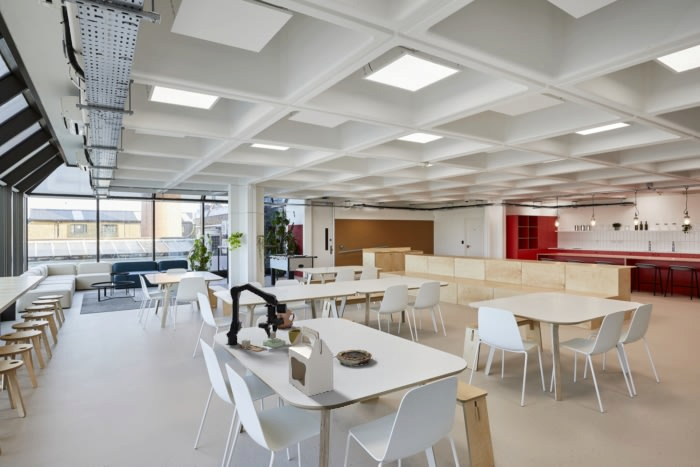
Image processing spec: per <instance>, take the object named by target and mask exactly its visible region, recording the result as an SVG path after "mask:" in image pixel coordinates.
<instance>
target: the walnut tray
mask: <svg viewBox="0 0 700 467" xmlns="http://www.w3.org/2000/svg"><path fill="white" fill-rule="evenodd" d="M237 348H240V349H243V350H244V349H245V350H249V351H252V352H256V353H260V352H262V351H266V350H268V348H266V347H262V346H258V345H254V344H251V343H250V347H246V348H245V347H242V344H241V345H238V347H237Z"/></svg>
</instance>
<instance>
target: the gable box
mask: <svg viewBox="0 0 700 467" xmlns="http://www.w3.org/2000/svg"><path fill="white" fill-rule="evenodd" d="M299 329H300V333H299V334H298V335H297V337H296V338H295V340H294V341H293V343H292V344H291V343H290V346H289V347H288V383H289V384H291V385H292V386H293V385H294V386H293V387H295V388H296V389H298V391H300V390H301V391H300V392H301V393H303V394H304V395H306V396H307V395H308V396H307V397H309V396H310V397H313V396H312V395H314V396H317V395H316V394H318V395H320V394H319V393H321V394H324V393H323V392H325V393H327V392H326V391H329V392H331V391H330V390H333V391H334V358H333V357H334V352H332V351H331V349H330V348H329V346H328V345H327V343H326V342H325V340H324V339H323V338H320V333H319V331H317V330H314V329H312V328H310V327H308V326H307V327H306V326H305V325H303V326H302V327H301V328H299ZM310 339H311V340H313V341H314V343H312V342H311V340H310Z"/></svg>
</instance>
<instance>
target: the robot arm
mask: <svg viewBox="0 0 700 467" xmlns="http://www.w3.org/2000/svg"><path fill="white" fill-rule="evenodd" d="M244 291H248V292H250V293H252V294H253V295H256V296H258V297H260V298H262V299H263V300H264V302H266V304H265V305H264V306H263V307H264V308H267V310H266V313H267V314H266V315H265V316H266V317H267V319H266V321H265V322H260V323H259V324H258V326H257V327H258V329H263V330H264V331H265V334H266V336H267V338H268V337H270V331H273V332H276V333H277V331H278V329H279V328H278V327H279V326H281V325H282V324H284V318H283V317H281V318H278V317H277V315H276V314H277V312H278V313H287V309H288V304H287V303H286V302H285V303H280V302H279V301H278V299H277V295H275V294H274V293H270V292H266V291H264V290H262V289H260V288H258V287H256V286H254V285H252V284H251V283H245V284H243V285H235V286H234V285H233V286H232V287H231V288H230V289H229V292H230V297H231V300H232V302H231V303H232V304H231V305H232V306H231V307H232V308H231V309H232V310H231V314H232V315H231V323H230V326H229V331H228V332H227V333H226V334H225V336H226V337H227V343H225V345H227V346H230V347H233V346H235V345H236V346H237V345H239V344H240V343H239V342H238V334H239V332H240V331H241V330H242V328H243V327H242V326H243V324H242V323H243V322H241V321H240V297H241V294H242V292H244ZM271 329H272V330H271Z"/></svg>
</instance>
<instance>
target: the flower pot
mask: <svg viewBox="0 0 700 467" xmlns="http://www.w3.org/2000/svg"><path fill="white" fill-rule="evenodd" d="M300 329H301V328H299V329H298V328H296V329H294V328H291V330H289V331H288V339H289V342H290V345H291V344H292V343H293V341H294V340H295V338H296V337H297V335H298V334H299V333H300Z"/></svg>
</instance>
